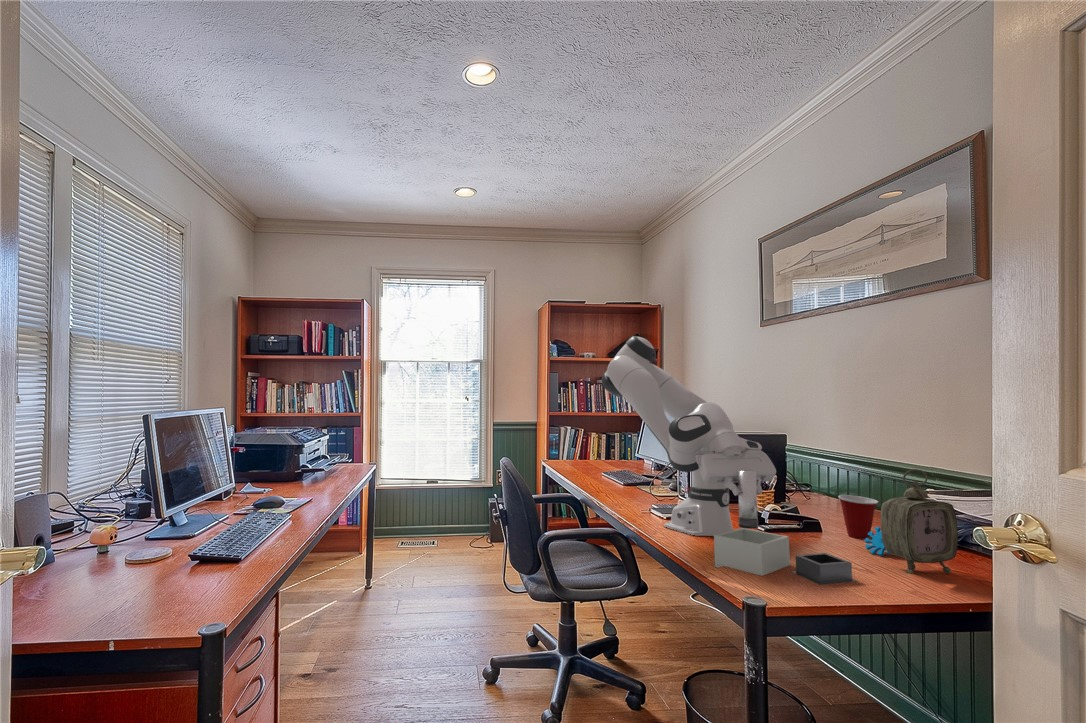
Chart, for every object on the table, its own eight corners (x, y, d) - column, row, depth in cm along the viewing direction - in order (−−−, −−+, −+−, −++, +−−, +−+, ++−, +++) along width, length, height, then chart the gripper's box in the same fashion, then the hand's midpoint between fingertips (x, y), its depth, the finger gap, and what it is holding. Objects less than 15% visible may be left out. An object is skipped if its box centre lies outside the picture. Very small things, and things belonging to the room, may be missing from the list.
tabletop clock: (908, 579, 133) (903, 472, 134) (878, 568, 141) (874, 468, 143) (960, 575, 135) (954, 470, 137) (927, 564, 144) (922, 466, 146)
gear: (855, 543, 159) (878, 518, 160) (867, 557, 160) (890, 531, 161) (886, 560, 148) (911, 532, 149) (899, 574, 149) (923, 546, 150)
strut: (734, 526, 144) (733, 470, 145) (745, 523, 147) (744, 469, 147) (751, 529, 140) (750, 472, 141) (761, 526, 143) (760, 471, 144)
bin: (714, 567, 143) (713, 535, 144) (743, 558, 152) (742, 527, 152) (762, 579, 133) (761, 545, 134) (789, 569, 142) (788, 536, 142)
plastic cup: (879, 543, 166) (878, 501, 167) (838, 538, 172) (836, 498, 172) (880, 535, 175) (878, 496, 176) (841, 531, 181) (839, 493, 182)
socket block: (791, 575, 136) (790, 554, 137) (826, 572, 139) (826, 551, 139) (820, 589, 127) (819, 566, 127) (858, 585, 129) (857, 563, 129)
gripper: (696, 444, 149) (716, 487, 139) (765, 443, 153) (789, 484, 143) (688, 459, 153) (707, 502, 143) (756, 457, 158) (778, 499, 147)
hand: (749, 493), depth 143 cm, fingers closed on strut, 4 cm apart
